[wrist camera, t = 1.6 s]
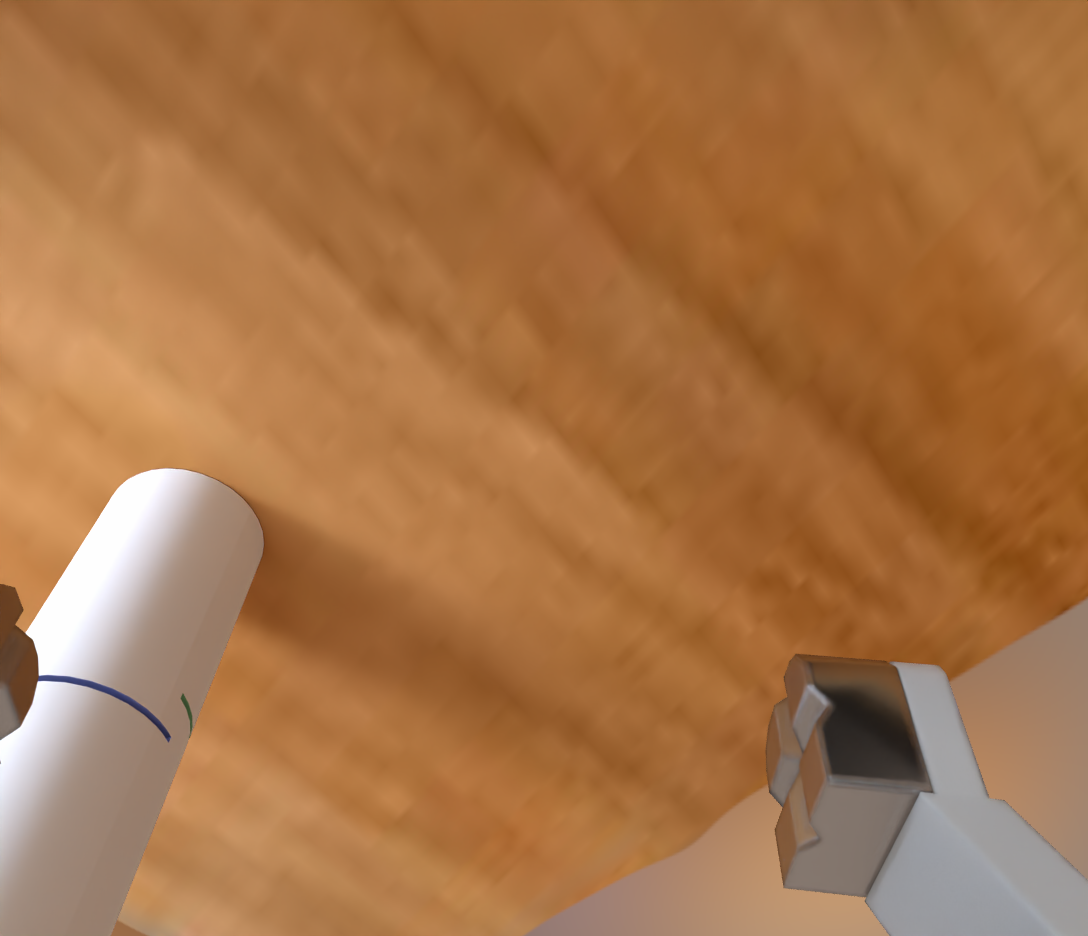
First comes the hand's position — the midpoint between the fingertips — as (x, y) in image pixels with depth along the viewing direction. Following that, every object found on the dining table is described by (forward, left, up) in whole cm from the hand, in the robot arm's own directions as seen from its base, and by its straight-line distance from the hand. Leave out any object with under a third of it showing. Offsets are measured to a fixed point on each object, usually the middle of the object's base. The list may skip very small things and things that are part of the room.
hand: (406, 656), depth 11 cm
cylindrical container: (+11, -25, -30) cm, 40 cm away
